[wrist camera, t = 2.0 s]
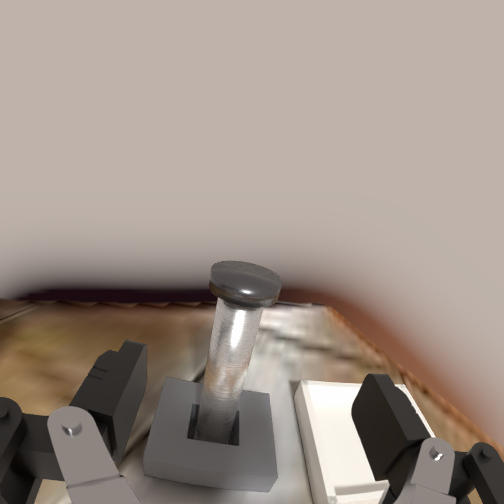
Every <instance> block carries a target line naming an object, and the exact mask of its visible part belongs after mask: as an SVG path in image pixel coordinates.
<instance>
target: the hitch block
mask: <svg viewBox="0 0 504 504" xmlns="http://www.w3.org/2000/svg"><path fill="white" fill-rule="evenodd" d="M202 388H203V384H200V383H195V382H190V381H184V380H179V379H175V378H170V377H166V379H165V382H164V386H163V389H162V392H161V396H160V399H159V402H158V406H157V409H156V413H155V416H154V420H153V423H152V427H151V430H150V434H149V437H148V441H147V445H146V448H145V452H144V456H143V467H144V475H147V476H152V477H156V478H161V479H165V480H170V481H175V482H181V483H186V484H192V485H199V486H206V487H213V488H221V489H231V490H242V491H257V492H269V491H270V490H271V488H272V486H273V484H274V483H275V481H276V479H277V478H278V473H277V464H276V454H275V445H274V435H273V426H272V417H271V407H270V398H269V393H260V392H252V391H245V390H242V392H241V396H240V399H239V403H238V407H237V410H236V414H235V418H234V421H233V425H232V428H231V429H234V445H227V444H219V443H212V442H206V441H199V440H193V439H188V438H187V437H188V431H189V424H190V422H192V423H197V419H198V413H199V407H200V400H201V394H202Z"/></svg>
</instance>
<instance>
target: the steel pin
mask: <svg viewBox="0 0 504 504" xmlns="http://www.w3.org/2000/svg"><path fill="white" fill-rule="evenodd" d="M281 285H282V280H281V278H280V277H279V276H278V275H277V274H276V273H274V272H273V271H271V270H269V269H267V268H264V267H262V266H259V265H256V264H252V263H247V262H241V261H222V262H218V263H215V264H214V265H213V266H212V268H211V274H210V280H209V289H210V290H211V292H212V293H213V294H214V295H216V296H217V297H218V302H217V307H216V313H215V318H214V324H213V330H212V335H211V341H210V347H209V352H208V358H207V364H206V370H205V376H204V382H203V388H202V394H201V400H200V407H199V413H198V419H197V425H196V432H195V438H194V440H199V441H206V442H212V443H219V444H227V443H228V439H229V436H230V432H231V428H232V425H233V421H234V418H235V414H236V410H237V407H238V403H239V399H240V396H241V392H242V388H243V385H244V381H245V377H246V373H247V369H248V366H249V362H250V358H251V354H252V350H253V347H254V343H255V339H256V335H257V331H258V327H259V323H260V319H261V315H262V311H263V308H264V307H267V306H271V305H273V304H275V303H276V302H277V300H278V296H279V293H280V289H281Z"/></svg>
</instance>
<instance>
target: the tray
mask: <svg viewBox="0 0 504 504" xmlns="http://www.w3.org/2000/svg"><path fill="white" fill-rule="evenodd" d="M361 385H362V384H352V383H334V382H320V381H308V380H300V382H299V385H298V387H297V390H296V392H295V395H294V397H293V398H294V403H295V408H296V414H297V419H298V424H299V429H300V434H301V440H302V445H303V450H304V455H305V461H306V466H307V471H308V477H309V482H310V488H311V493H312V498H313V504H378V503H379V501H380V498H381V496H382V494H383V492H384V489H385V488H386V486H387V485H388V484H389V482H388V480H383V481H376V482H375V479H374V476H373V473H372V471H371V468H370V465H369V462H368V460H367V457H366V454H365V452H364V449H363V446H362V444H361V441H360V438H359V436H358V433H357V430H356V428H355V425H354V422H353V420H352V416H351V408H352V404H353V401H354V399H355V397H356V395H357V393H358V391H359V389H360V387H361ZM395 386H396V387H398V388H399V389H400V390H402V391H403V392H404V393H405V394H406V395H407V397H408V398H409V400H410V402H411V403H412V406H414V408H415V410H416V413H418V415H419V417H420V418H421V420H422V422H423V423H424V425H425V427H426V428H427V430H428V432H429V433H430V435H431V437H435V435H434V434H433V432H432V430H431V428H430V427H429V425H428V423H427V421H426V420H425V418H424V416H423V415H422V413H421V411H420V410H419V408H418V406H417V405H416V403H415V401H414V400H413V398H412V396H411V395H410V393H409V391H408V390H407V388H406V387H405V385H395ZM435 438H436V437H435Z"/></svg>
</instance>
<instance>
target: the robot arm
mask: <svg viewBox="0 0 504 504" xmlns="http://www.w3.org/2000/svg"><path fill="white" fill-rule="evenodd" d="M146 383H147V344H143V343H139V342H134V341H130V340H125V341H124V343H123V345H122V347H121V348H120V350H119V352H116V351H112V350H109V351H107V352H105V353H104V354H102V355H101V356H99V357H98V359H97V360H96V362H95V364H94V365H93V368H91V370H90V372H89V373H88V376H87V377H86V378H85V380H84V381H83V383H82V385H81V386H80V388H79V390H78V391H77V393H76V395H75V396H74V398H73V400H72V402H71V403H70V405H69V406H67V407H61V408H59V409H57V410H55V411H54V412H52V414H51V415H50V416H41V415H33V414H25V413H22V411H21V409H20V407H19V405H18V404H17V403H16V402H15V401H13V400H11V399H9V398H5V397H0V504H34V502H35V499H36V496H37V493H38V491H39V488H40V485H41V483H42V480H43V479H49V480H58V481H65V482H66V485H67V487H66V488H67V491H68V494H69V497H70V499H71V501H72V504H141V503H140V502H139V500H138V498H137V497H136V495H135V493H134V492H133V490H132V488H131V486H130V485H129V483H128V481H127V480H126V478H125V477H124V476H123V475H120V473H119V471H118V470H117V468H116V466H115V464H114V462H113V461H115V462H119V463H121V459H122V456H123V453H124V450H125V447H126V444H127V441H128V438H129V436H130V433H131V430H132V427H133V424H134V421H135V418H136V415H137V412H138V410H139V407H140V404H141V401H142V398H143V396H144V393H145V388H146ZM351 416H352V420H353V422H354V425H355V428H356V430H357V433H358V436H359V438H360V441H361V444H362V446H363V449H364V452H365V454H366V457H367V460H368V462H369V465H370V468H371V471H372V473H373V476H374V479H375V482H376V481H383V480H388V482H389V484H388V485H387V486H386V488H385V489H384V492H383V494H382V496H381V498H380V501H379V503H378V504H471V503H470V500H469V498H468V496H467V495H468V494H470V493H471V492H472V491H473V490H474V489H475V488H476V490H477V492H478V494H479V496H480V498H481V500H482V502H483V504H504V463H503V461H502V459H501V458H500V456H499V454H498V453H497V451H496V450H495V449H494V448H493V447H492V446H491V445H489V444H487V443H483V442H479V443H476V444H474V445H473V447H472V448H471V449H470V450H469V452H458V451H454V450H453V448H452V447H451V445H450V444H449V443H447V442H446V441H444V440H442V439H440V438H435V437H431V435H430V433H429V432H428V430H427V428H426V427H425V425H424V423H423V422H422V420H421V418H420V417H419V415H418V413H416V410H415V408H414V406H412V403H411V402H410V400H409V398H408V397H407V395H406V394H405V393H404V392H403V391H402V390H400V389H399V388H398V387H396V386H395V385H394V383H393V381H392V380H391V378H390V377H389V375H387V374H368V375H367V376H366V377H365V379H364V381H363V383H362V385H361V387H360V389H359V391H358V393H357V395H356V397H355V399H354V401H353V404H352V408H351Z"/></svg>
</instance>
